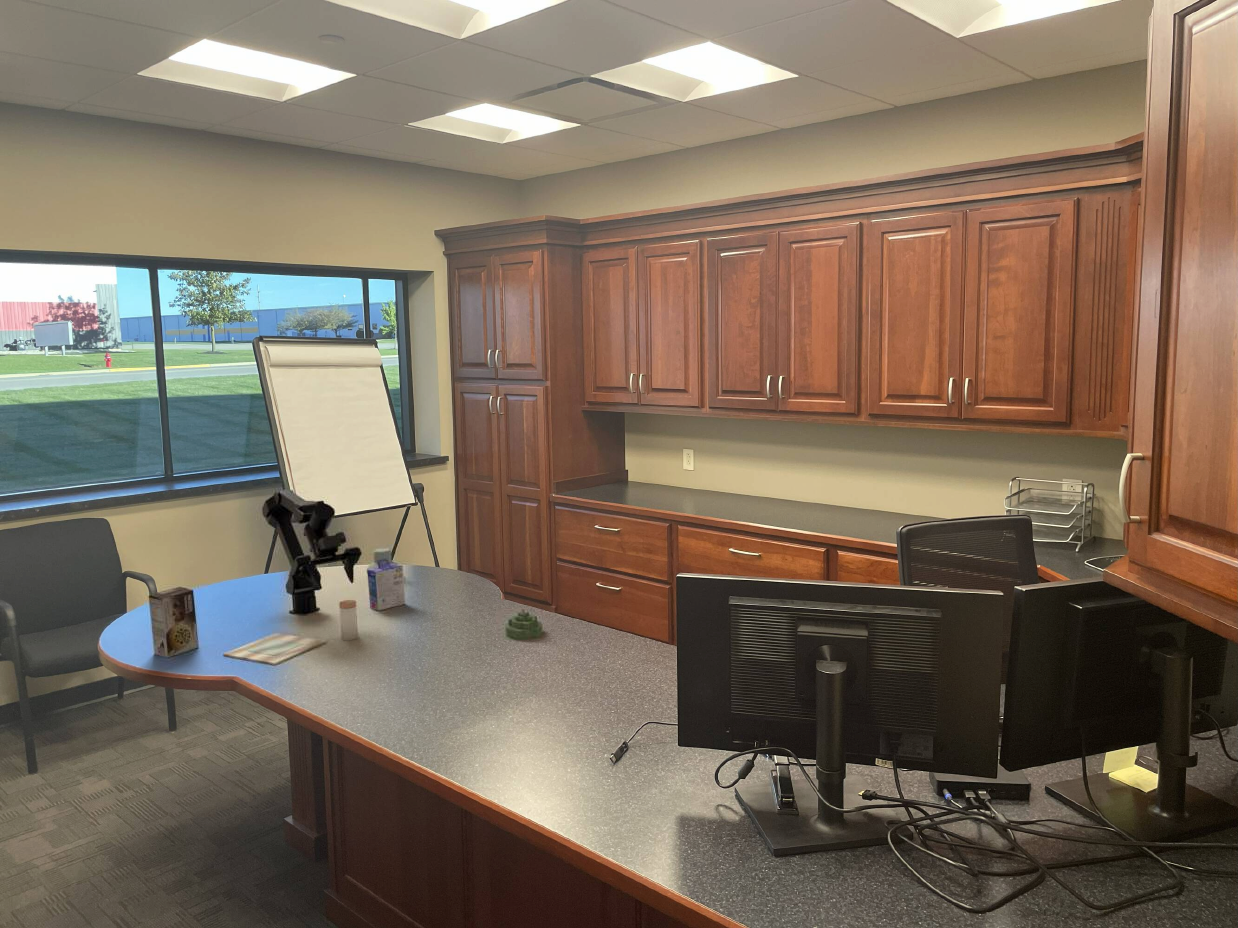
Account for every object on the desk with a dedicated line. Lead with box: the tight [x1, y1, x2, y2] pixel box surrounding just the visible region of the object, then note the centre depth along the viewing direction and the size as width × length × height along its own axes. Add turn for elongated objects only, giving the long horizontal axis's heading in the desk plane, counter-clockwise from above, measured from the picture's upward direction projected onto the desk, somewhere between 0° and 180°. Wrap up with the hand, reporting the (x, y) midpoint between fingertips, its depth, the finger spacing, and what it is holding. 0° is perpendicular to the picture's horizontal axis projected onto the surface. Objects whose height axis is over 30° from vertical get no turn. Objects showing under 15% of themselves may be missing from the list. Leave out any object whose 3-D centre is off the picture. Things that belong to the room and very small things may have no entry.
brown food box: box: [148, 586, 200, 659], centre depth 237 cm, size 9×6×16 cm
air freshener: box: [366, 547, 398, 571], centre depth 308 cm, size 11×8×10 cm
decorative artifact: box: [505, 608, 543, 641], centre depth 247 cm, size 10×7×10 cm
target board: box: [222, 632, 327, 666], centre depth 238 cm, size 18×18×1 cm
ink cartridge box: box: [366, 558, 406, 611], centre depth 275 cm, size 10×6×14 cm, turn 136°
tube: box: [338, 599, 359, 641], centre depth 246 cm, size 4×4×10 cm
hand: (336, 585), depth 251 cm, fingers open, 9 cm apart
